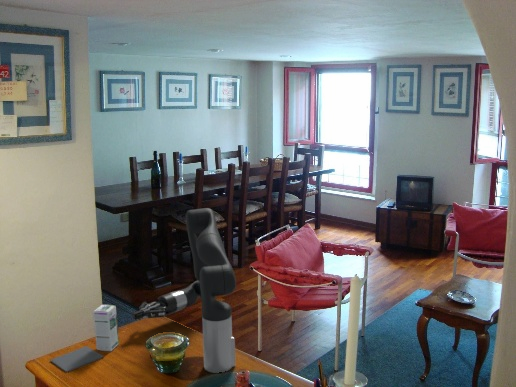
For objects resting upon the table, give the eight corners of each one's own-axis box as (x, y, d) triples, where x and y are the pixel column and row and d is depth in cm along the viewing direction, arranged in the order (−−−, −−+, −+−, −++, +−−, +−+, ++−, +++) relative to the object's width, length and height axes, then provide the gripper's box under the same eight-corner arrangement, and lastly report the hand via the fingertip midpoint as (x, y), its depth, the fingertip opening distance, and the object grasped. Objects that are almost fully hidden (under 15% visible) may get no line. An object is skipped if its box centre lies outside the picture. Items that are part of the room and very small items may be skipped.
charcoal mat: (86, 347, 184) (86, 345, 183) (103, 357, 176) (103, 356, 176) (50, 361, 174) (50, 359, 174) (66, 372, 167) (66, 371, 167)
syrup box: (111, 351, 180) (108, 311, 177) (95, 350, 181) (92, 310, 179) (119, 344, 186) (116, 305, 183) (103, 342, 187) (100, 303, 184)
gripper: (161, 289, 206) (122, 302, 194) (182, 297, 197) (143, 311, 185) (162, 307, 207) (123, 321, 195) (183, 316, 198) (144, 331, 186)
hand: (133, 316), depth 190 cm, fingers closed
